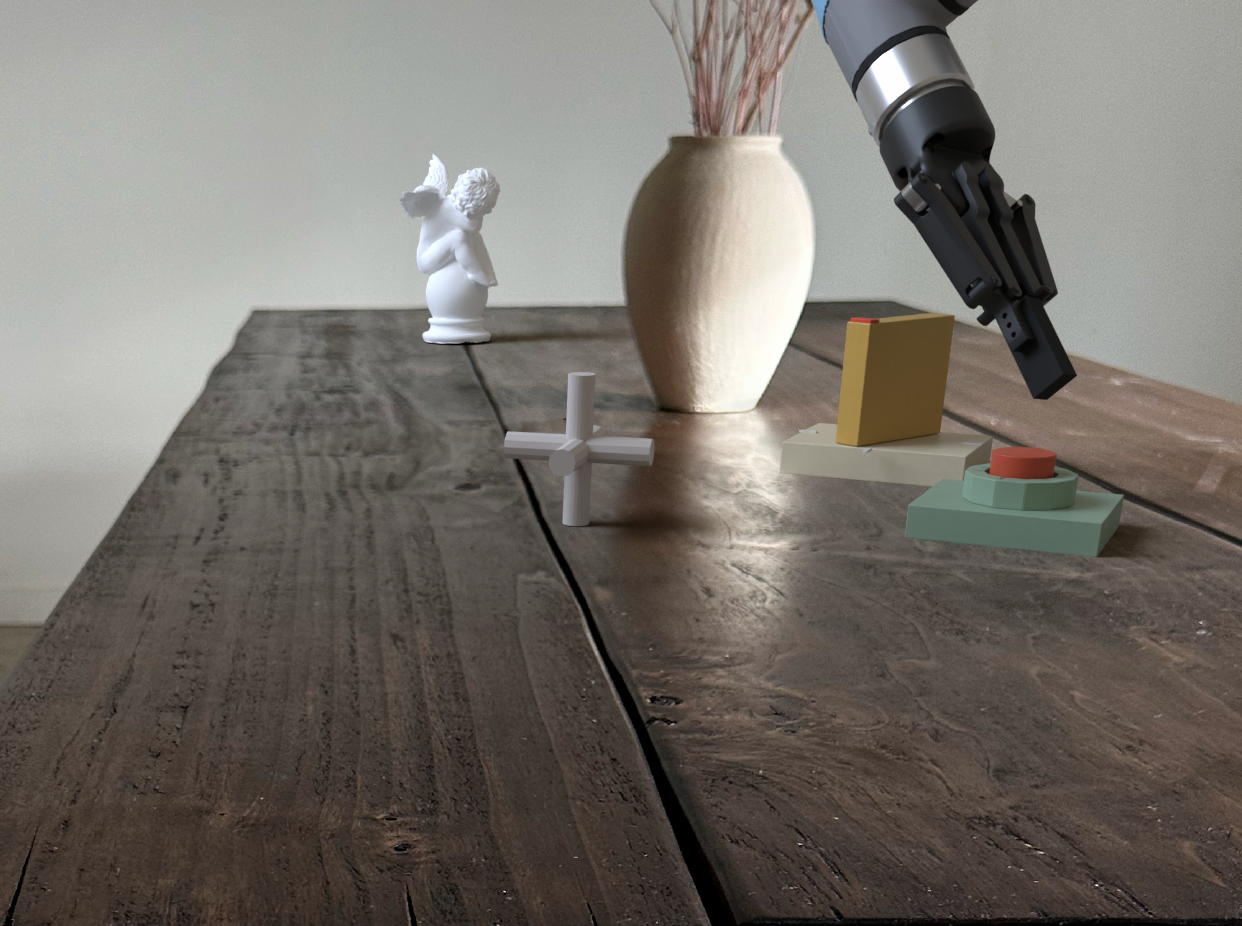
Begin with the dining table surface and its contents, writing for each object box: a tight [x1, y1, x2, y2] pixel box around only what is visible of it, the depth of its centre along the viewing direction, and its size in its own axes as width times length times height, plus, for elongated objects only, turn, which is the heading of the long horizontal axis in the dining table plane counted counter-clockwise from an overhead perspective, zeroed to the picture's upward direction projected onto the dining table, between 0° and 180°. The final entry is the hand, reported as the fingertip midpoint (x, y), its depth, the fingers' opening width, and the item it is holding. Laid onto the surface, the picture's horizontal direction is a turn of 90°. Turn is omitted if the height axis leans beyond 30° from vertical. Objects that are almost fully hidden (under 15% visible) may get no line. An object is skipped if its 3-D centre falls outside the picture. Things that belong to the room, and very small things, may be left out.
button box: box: [904, 462, 1125, 558], centre depth 112 cm, size 12×10×4 cm
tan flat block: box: [835, 312, 956, 446], centre depth 130 cm, size 10×2×9 cm, turn 126°
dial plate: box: [779, 422, 994, 488], centre depth 133 cm, size 14×14×3 cm
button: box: [989, 446, 1057, 479], centre depth 111 cm, size 4×4×2 cm
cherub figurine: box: [399, 152, 501, 345], centre depth 209 cm, size 12×12×22 cm
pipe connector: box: [503, 371, 655, 527], centre depth 114 cm, size 10×10×10 cm
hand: (1055, 387), depth 116 cm, fingers closed
